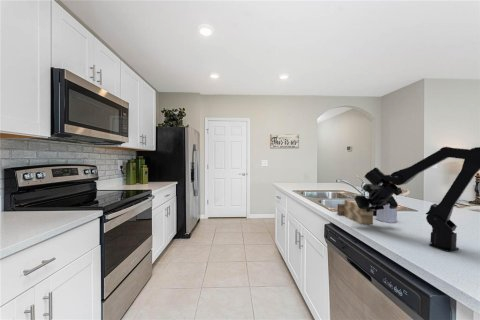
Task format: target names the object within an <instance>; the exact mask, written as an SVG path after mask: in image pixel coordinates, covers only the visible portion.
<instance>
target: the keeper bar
mask: <svg viewBox="0 0 480 320" xmlns="http://www.w3.org/2000/svg"><path fill="white" fill-rule="evenodd" d="M343 204H344V216H343V217H345V218H348V219H350V220H352V221H354V222H355V223H358V224H360V225H373V223H374V216H373V211H372V212H367V211H366V209H367V208H366V209H360V208H359V207H358V205H357V203H356V201H355V199H344V203H343Z"/></svg>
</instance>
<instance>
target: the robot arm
mask: <svg viewBox="0 0 480 320" xmlns="http://www.w3.org/2000/svg"><path fill="white" fill-rule="evenodd" d="M449 158H451V159H460V160H463V163H462V167H461V170H459V171H460V172H459V173H458V175H457V176H456V178H455V180H453V183H452V184H451V186H450V187H449V189H448V190H447V192H446V193H445V195H444V196H443V198H442V199H441V201H440V202H439V203H438V204H437V203H433V204H431V205H430V207H429V210H428V211H427V212H425V215H426V217H425V218H426V219H425V220H426V222H427V224H428V225H430V226H431V228H432V229H431V232H430V241H429V242H430V243H428V245H429V247H430V246H431V247H434V248H437V249H440V250H443V251H446V252H453V251H458V250H459V249H460V248H459V247H457V237H458V235H457V232H454V231H456V229H457V227H458V226H457V224H455V223H454V222H453V221H452V220H451V216H452V214H453V211H454V207H455V205H456V203H458V201H459V200H460V198H461V196H462V195H463V193H464V192H465V190H466V189H467V188H468V186H469V184H470V183H471V182H472V180H473V179H474V177H475V176H476V175H477V173H478V172H479V171H480V146H479V147H472V148H470V149H469V148H457V147H450V146H443V147H441V148H440V149H439V150H437V151H435V152H433V153H432V154H430V155H429V156H426V157H425V158H422V159H420V160H419V161H418V162H416V163H414V164H412V165H410V166H408V167H406V168H405V167H404V168H402V169H399V170H396V171H394V172H392V173H390V174H385V173H384V172H382V171H381V170H380V169H379V168H378V167H374V168H373V169H371V170H370V171H368V172H366V174H365V175H364V178H365V179H366V180H367V181H368V182H369V183H365V184H364V185H363V186H362V190H363V191H364V192H365V193H366V192H367V193H368V198H367V197H366V195H356V196H355V197H354V200H355V201H356V203H357V205H358V207H359V208H360V209H366V208H367V209H366V211H367V212H372V211H376V210H381V209H384V207H383V206H385V205H390V206H389V207H390V209H395V208H397V209H398V206H399V204H398V202H397V201H396V199H395V198H394V196H393V195H395V196H399V195H401V194H403V190H402V187H398V186H403V185H407V184H408V183H410V181H412V180H413V179H414V178H416V177H417V176H418V175H419V174H421V173H423V172H425V171H426V170H428V169H430V168H431V167H434V166H436V165H437V164H439V163H441V162H443V161H445V160H447V159H449ZM391 182H392V183H391ZM379 185H381V186H380V187H378V186H379ZM369 197H371V198H369ZM388 203H389V204H388Z"/></svg>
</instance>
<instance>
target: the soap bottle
mask: <svg viewBox="0 0 480 320" xmlns="http://www.w3.org/2000/svg"><path fill="white" fill-rule="evenodd" d="M391 183H392V182H391ZM388 204H389V203H388ZM389 206H390V205H385V206H383V207H384V209H381V210H377V216H375V217H376V220H378V221H379V222H382V223H383V222H384V223H390V224H391V223H393V224H394V223H397V222H398V207H397V208H395V209H390V207H389Z"/></svg>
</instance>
